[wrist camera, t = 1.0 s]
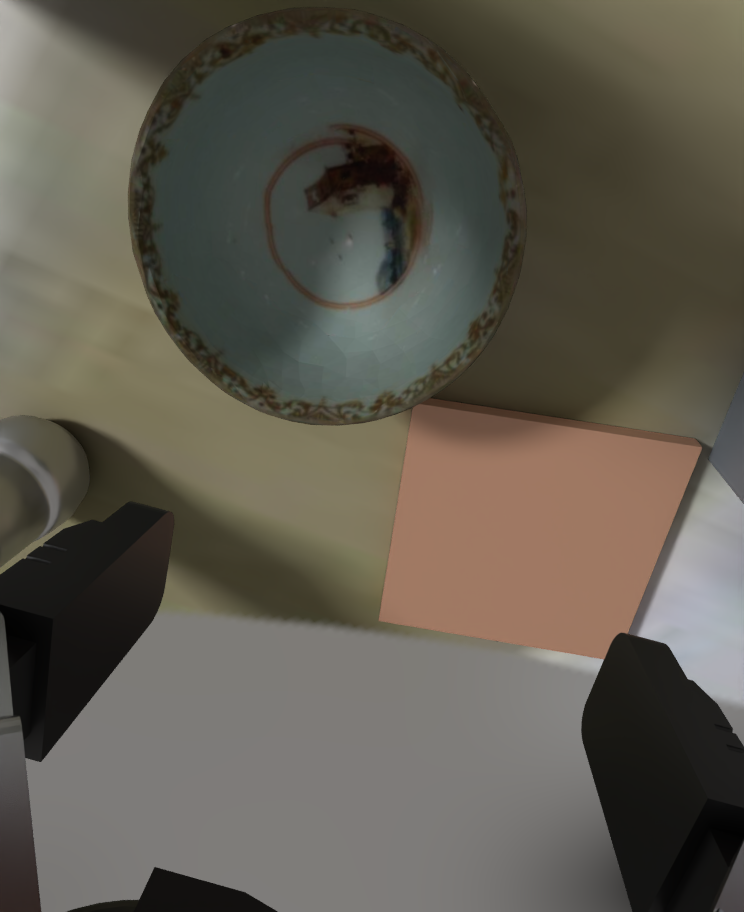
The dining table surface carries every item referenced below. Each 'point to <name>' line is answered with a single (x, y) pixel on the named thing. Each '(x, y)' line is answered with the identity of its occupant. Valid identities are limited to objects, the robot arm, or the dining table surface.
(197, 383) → the dining table surface
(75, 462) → the plastic bottle
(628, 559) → the terracotta tile
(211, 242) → the bowl
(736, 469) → the slate cube
